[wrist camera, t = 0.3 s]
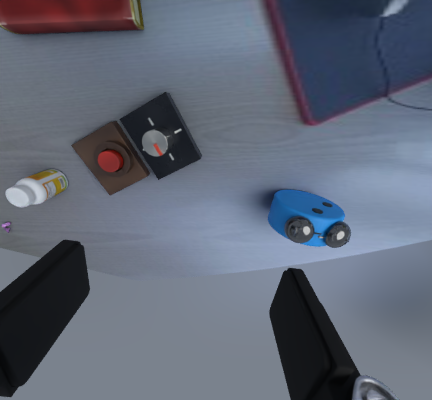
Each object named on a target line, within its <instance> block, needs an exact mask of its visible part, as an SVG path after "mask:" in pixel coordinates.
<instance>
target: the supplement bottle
mask: <svg viewBox="0 0 432 400" xmlns="http://www.w3.org/2000/svg"><path fill="white" fill-rule="evenodd" d="M67 187H68V180H67V178H66V176H65V175H64V174H63V173H61V172H60V171H58V170H55V169H48V170H45V171H42V172H40V173H37V174H34V175H31V176H29V177H26V178H23V179H21V180H19V181H18V182H17V183H16V185H15V186H13V187H11V188H8V189H7V190H6V197H7V199H8V200H9V202H10V203H12V204H13V205H15V206H17V207H26V206H28V205H30V204H40V203H42V202H44V201H46V200H48V199H50V198H51V197H53V196H55V195H57V194H59V193H61V192H62V191H64V190H66V188H67Z"/></svg>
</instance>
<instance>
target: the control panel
mask: <svg viewBox="0 0 432 400" xmlns="http://www.w3.org/2000/svg"><path fill="white" fill-rule="evenodd" d="M120 121H121V122H122V124H123V125H124V127H125V128H126V130H127V132H128V133H129V135H130V136H131V138H132V139H133V141H134V142H135V144H136V146H137V147H138V149H139V150H140V152H141V153H142V155H143V156H144V158H145V160H146V161H147V163H148V164H149V166H150V167H151V169H152V170H153V172H154V174H155V175H156V177H157V178H158V180H159V179H161V178H163V177H165V176H167V175H169V174H171V173H173V172H175V171H177V170H179V169H181V168H183V167H185V166H187V165H189V164H191V163H193V162H195V161H197V160H199V159H201V156H202V155H201V153H200V151H199V149H198V147H197V145H196V143H195V141H194V139H193V137H192V136H191V134H190V132H189V130H188V128H187V126H186V124H185V122H184V120H183V118H182V116H181V114H180V112H179V111H178V109H177V107H176V105H175V103H174V101H173V99H172V97H171V95H170V93H167V92H165V93H163V94H162V95H160V96H158V97H157V98H155V99H153V100H151V101H150V102H148V103H146V104H145V105H143V106H141V107H140V108H138V109H136V110H135V111H133V112H131V113H129V114H128V115H126V116H124V117H123V118H121V119H120ZM156 128H164V129H166V130H168V131H169V132H170V133H171V135H172V137H173V145H172V147H171V148H170V149H169V150H168V151H167V152H165V153H164V154H163V155H161V156H152V155H150V154H148V153H147V152H146V151H145V150H144V148H143V145H142V138H143V135H144V134H145V133H146V132H147V131H150V130H153V129H156Z"/></svg>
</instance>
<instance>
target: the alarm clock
mask: <svg viewBox="0 0 432 400" xmlns="http://www.w3.org/2000/svg"><path fill="white" fill-rule="evenodd" d="M344 217H345V214H344V211H343V210H342V209H341V208H340V207H339V206H338V205H336V204H335V203H333V202H331V201H329V200H327V199H325V198H323V197H320V196H318V195H315V194H311V193H308V192H304V191H299V190H280V191H278V192H276V193H275V195H274V198H273V201H272V205H271V208H270V212H269V215H268V221H269V224H270V225H271V227H272V228H273V229H274V230H275V231H277V232H278V233H279V234H281V235H282V236H284V237H286V238H288V239H290V240H291V241H293V242H296V243H300V244H304V245H308V246H326V245H328V246H329V247H332V248H338V247H341V246H343V245H345V244H346V243H347V242H349V239H350V236H351V230H350V227H349V226H348V225H347V224H346V223H345V222H343V220H344Z"/></svg>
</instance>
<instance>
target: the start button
mask: <svg viewBox="0 0 432 400" xmlns="http://www.w3.org/2000/svg"><path fill="white" fill-rule="evenodd" d="M98 163H99V165H100V167H101V168H102V169H103V170H105V171H107V172H115V171H117V170H118V169H120V168H121V167H122V165H123V158H122V156H121V155H120V154H119V153H118V152H117V151H115V150H106V151H104V152H102V153H100V154H99V156H98Z"/></svg>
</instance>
